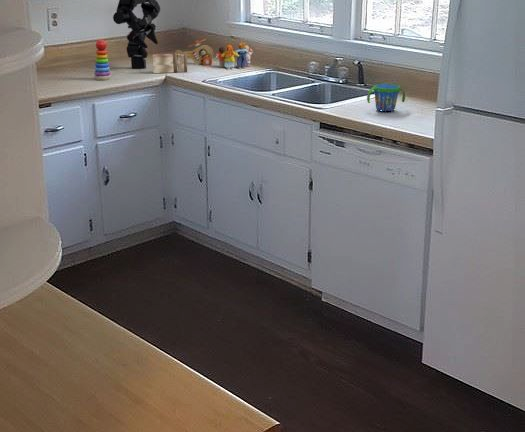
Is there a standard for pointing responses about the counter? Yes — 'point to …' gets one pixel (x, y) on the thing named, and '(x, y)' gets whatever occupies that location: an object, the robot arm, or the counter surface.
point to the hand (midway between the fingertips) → (152, 45)
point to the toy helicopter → (197, 51)
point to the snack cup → (386, 96)
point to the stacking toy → (101, 62)
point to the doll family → (229, 60)
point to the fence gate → (165, 63)
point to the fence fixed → (182, 62)
